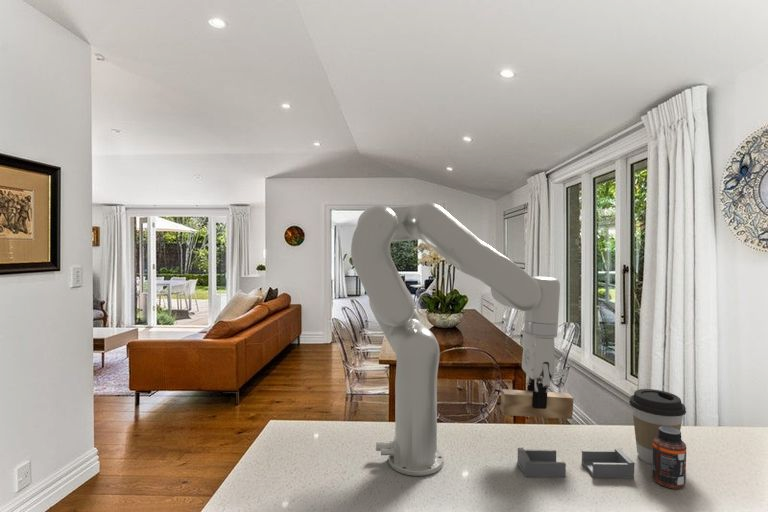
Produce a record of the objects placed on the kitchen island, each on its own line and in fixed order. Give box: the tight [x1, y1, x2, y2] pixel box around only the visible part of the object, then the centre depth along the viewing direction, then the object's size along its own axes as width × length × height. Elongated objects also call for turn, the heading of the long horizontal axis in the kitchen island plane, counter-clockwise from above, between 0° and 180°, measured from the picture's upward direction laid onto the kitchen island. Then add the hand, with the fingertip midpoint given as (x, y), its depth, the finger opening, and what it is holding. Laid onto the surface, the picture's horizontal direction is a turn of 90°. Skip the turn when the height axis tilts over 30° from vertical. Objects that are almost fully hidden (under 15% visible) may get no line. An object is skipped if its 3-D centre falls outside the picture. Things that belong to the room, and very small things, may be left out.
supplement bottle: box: [651, 426, 687, 490], centre depth 93 cm, size 6×6×11 cm
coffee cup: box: [628, 388, 687, 465], centre depth 103 cm, size 11×11×15 cm
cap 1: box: [517, 447, 567, 478], centre depth 99 cm, size 9×6×3 cm
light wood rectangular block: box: [499, 388, 574, 420], centre depth 106 cm, size 16×4×5 cm, turn 88°
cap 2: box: [581, 448, 636, 479], centre depth 98 cm, size 9×6×3 cm
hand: (536, 403), depth 106 cm, fingers closed on light wood rectangular block, 3 cm apart
